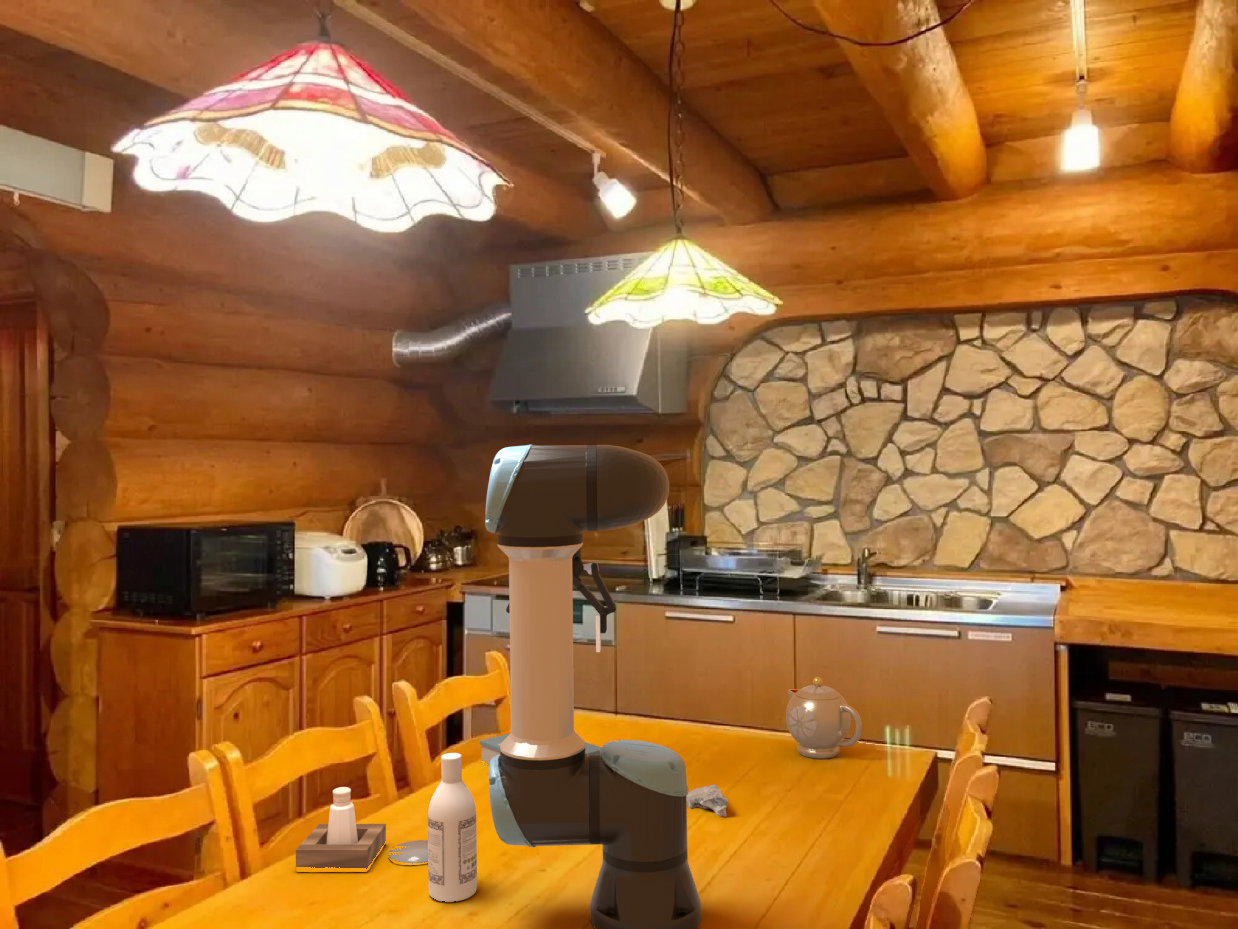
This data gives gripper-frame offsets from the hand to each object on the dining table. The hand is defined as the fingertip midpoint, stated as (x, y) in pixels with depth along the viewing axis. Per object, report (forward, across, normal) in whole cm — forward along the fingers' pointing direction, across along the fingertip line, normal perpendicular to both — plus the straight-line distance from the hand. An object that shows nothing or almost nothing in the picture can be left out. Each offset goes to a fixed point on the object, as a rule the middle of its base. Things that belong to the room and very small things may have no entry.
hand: (561, 651), depth 183 cm
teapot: (+28, -53, -28) cm, 66 cm away
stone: (+28, -26, +3) cm, 38 cm away
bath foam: (+28, +12, +40) cm, 50 cm away
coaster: (+28, +21, +26) cm, 43 cm away
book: (+28, +6, -20) cm, 35 cm away
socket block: (+28, +32, +28) cm, 51 cm away
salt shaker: (+28, +32, +28) cm, 51 cm away
